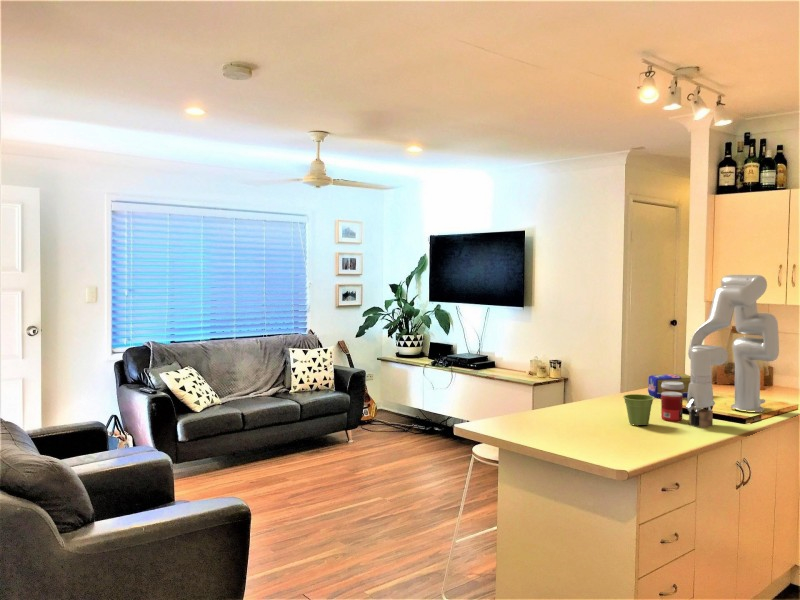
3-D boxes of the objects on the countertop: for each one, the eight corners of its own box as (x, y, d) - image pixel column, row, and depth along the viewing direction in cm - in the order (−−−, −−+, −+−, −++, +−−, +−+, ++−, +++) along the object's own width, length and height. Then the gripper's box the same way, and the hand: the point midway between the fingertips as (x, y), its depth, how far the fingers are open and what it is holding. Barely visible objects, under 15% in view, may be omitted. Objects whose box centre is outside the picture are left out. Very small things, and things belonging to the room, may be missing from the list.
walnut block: (699, 422, 254) (699, 408, 254) (712, 425, 249) (712, 410, 249) (689, 424, 252) (689, 409, 251) (702, 428, 246) (702, 412, 246)
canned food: (684, 422, 256) (684, 395, 255) (663, 421, 257) (663, 395, 256) (680, 417, 263) (679, 391, 262) (659, 417, 265) (659, 391, 264)
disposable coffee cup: (661, 411, 274) (660, 384, 273) (660, 406, 282) (660, 380, 282) (685, 413, 270) (685, 385, 269) (684, 408, 279) (684, 381, 278)
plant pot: (655, 422, 257) (655, 394, 256) (653, 429, 246) (653, 400, 246) (624, 419, 262) (624, 392, 261) (621, 426, 251) (621, 398, 250)
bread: (645, 394, 308) (645, 373, 308) (695, 393, 309) (695, 372, 309) (655, 399, 298) (655, 377, 298) (706, 397, 299) (706, 375, 299)
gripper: (706, 375, 257) (706, 419, 258) (677, 380, 249) (677, 425, 250) (723, 378, 250) (723, 423, 251) (694, 383, 242) (694, 429, 243)
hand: (700, 423), depth 250 cm, fingers closed on walnut block, 6 cm apart
